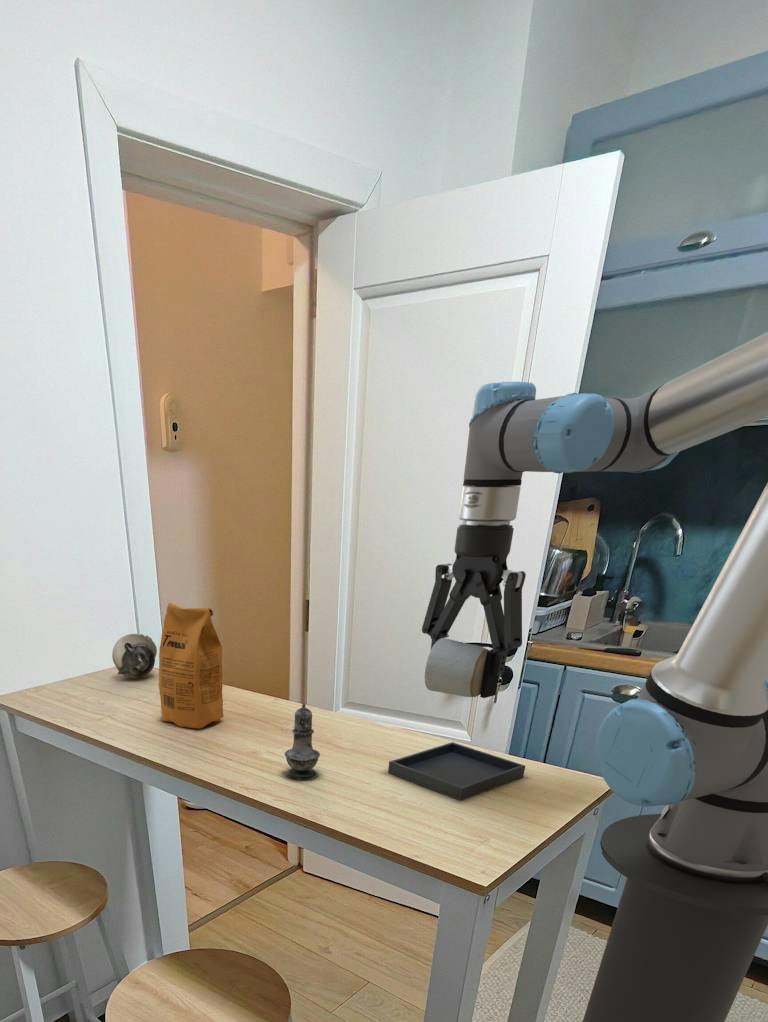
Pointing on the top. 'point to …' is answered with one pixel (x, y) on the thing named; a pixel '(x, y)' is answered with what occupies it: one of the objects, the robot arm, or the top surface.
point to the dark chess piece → (302, 748)
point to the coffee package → (190, 668)
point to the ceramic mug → (455, 668)
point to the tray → (456, 770)
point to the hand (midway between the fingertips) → (461, 689)
